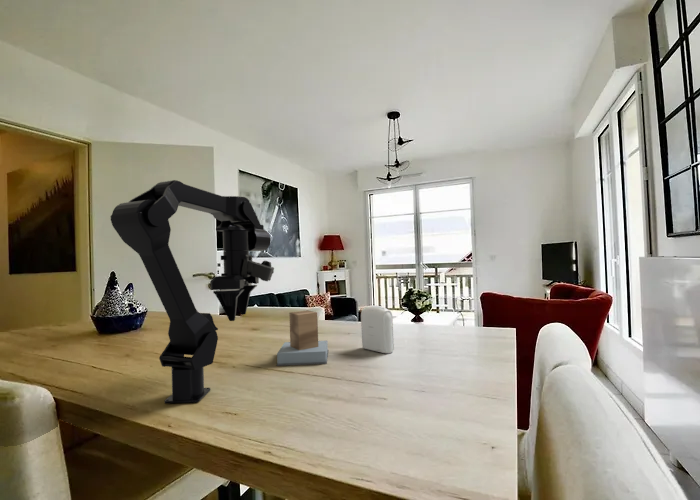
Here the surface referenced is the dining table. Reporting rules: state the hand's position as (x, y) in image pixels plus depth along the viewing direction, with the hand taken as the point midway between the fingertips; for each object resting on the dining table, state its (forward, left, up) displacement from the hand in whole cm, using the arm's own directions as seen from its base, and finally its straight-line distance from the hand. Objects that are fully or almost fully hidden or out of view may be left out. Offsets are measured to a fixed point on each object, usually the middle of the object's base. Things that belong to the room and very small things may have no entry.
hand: (238, 317), depth 86 cm
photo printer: (+16, -34, -13) cm, 40 cm away
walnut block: (+11, -14, -10) cm, 20 cm away
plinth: (+11, -14, -13) cm, 22 cm away
